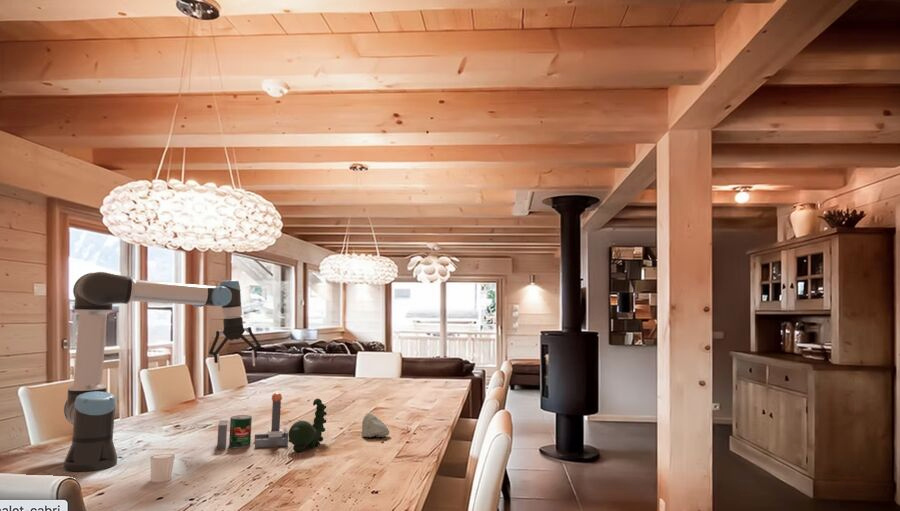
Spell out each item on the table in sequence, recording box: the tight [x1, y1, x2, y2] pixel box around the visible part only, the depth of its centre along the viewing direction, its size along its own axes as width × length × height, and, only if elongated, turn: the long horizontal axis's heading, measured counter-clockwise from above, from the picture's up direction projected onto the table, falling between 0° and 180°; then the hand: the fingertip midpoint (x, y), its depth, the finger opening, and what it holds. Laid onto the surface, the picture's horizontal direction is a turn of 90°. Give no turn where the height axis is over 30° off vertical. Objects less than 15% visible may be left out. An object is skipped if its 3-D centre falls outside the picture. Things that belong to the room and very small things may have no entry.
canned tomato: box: [228, 414, 253, 449], centre depth 225 cm, size 8×8×11 cm
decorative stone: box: [361, 413, 390, 438], centre depth 246 cm, size 13×11×10 cm
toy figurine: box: [288, 398, 328, 453], centre depth 224 cm, size 9×19×25 cm
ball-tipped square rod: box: [267, 392, 283, 439], centre depth 230 cm, size 7×5×20 cm
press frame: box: [216, 419, 289, 451], centre depth 227 cm, size 11×26×9 cm, turn 109°
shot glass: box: [149, 453, 176, 483], centre depth 179 cm, size 7×7×7 cm
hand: (236, 368), depth 241 cm, fingers open, 13 cm apart
